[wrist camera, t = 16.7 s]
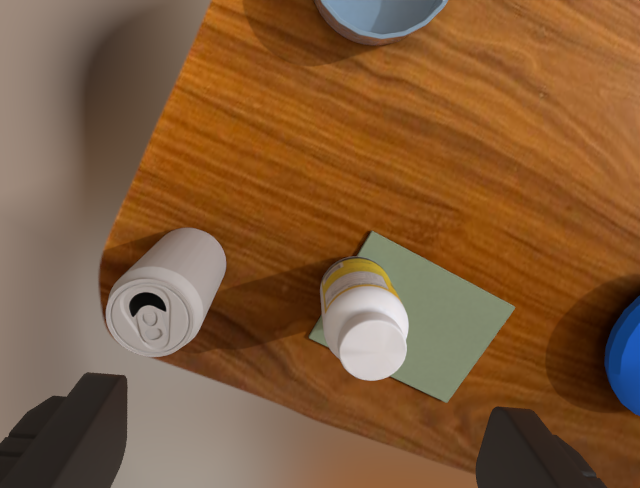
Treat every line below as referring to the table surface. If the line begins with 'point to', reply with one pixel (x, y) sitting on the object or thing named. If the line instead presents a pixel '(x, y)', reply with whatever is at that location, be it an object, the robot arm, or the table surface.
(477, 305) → the mat
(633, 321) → the vase
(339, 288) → the pill bottle
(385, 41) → the grey-blue round dish
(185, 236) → the beverage can
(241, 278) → the table surface
